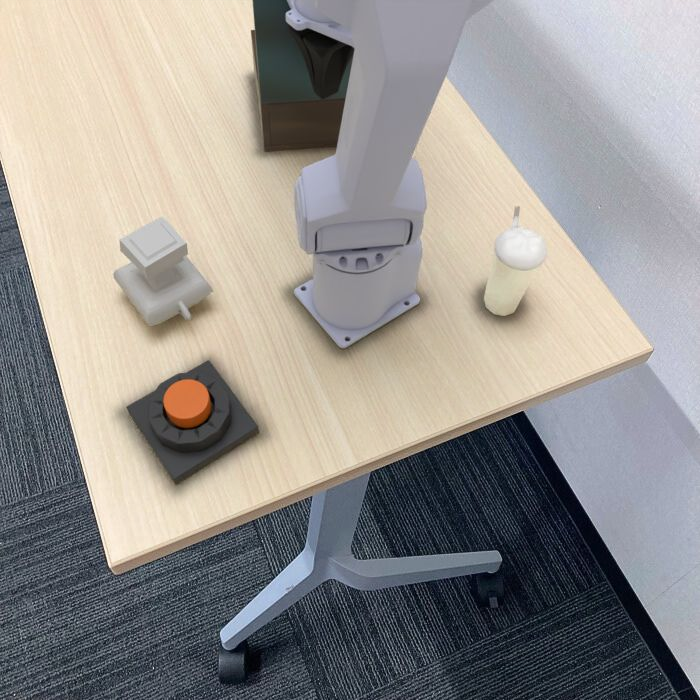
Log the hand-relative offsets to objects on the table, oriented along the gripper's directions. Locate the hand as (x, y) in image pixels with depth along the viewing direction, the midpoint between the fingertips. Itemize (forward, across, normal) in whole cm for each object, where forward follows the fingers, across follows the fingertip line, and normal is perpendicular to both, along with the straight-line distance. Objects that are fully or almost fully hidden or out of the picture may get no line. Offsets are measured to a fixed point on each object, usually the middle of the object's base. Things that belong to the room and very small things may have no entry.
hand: (326, 92), depth 69 cm
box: (+10, -8, +5) cm, 13 cm away
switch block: (+10, +18, -28) cm, 34 cm away
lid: (-4, -3, +2) cm, 5 cm away
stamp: (+10, +5, -23) cm, 25 cm away
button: (+7, +18, -28) cm, 34 cm away
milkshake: (+10, +24, +3) cm, 26 cm away
